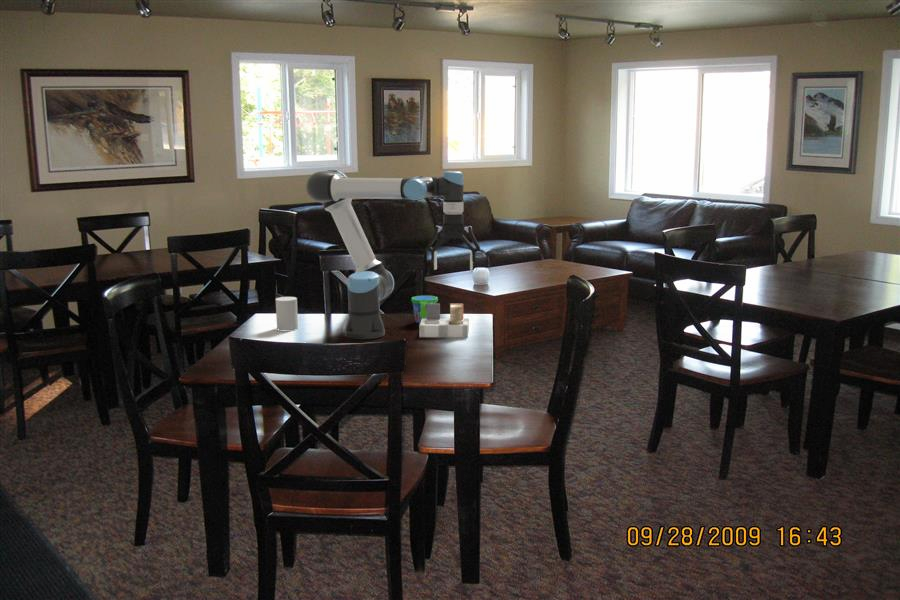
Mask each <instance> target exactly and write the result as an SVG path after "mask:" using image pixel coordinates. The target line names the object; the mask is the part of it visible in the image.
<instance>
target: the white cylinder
mask: <svg viewBox="0 0 900 600" xmlns="http://www.w3.org/2000/svg"><path fill="white" fill-rule="evenodd" d="M275 312H276V316H275V317H276V330H277V329H279V330H293V331H296V330H295V329H297V330H298V329H299V320H298V297H296V296H280V297H276V298H275ZM279 330H278V331H279Z"/></svg>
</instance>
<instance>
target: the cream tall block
mask: <svg viewBox="0 0 900 600" xmlns="http://www.w3.org/2000/svg"><path fill="white" fill-rule="evenodd" d="M450 312H451V324H453V325H461V305H451V306H450V305H449V313H450Z"/></svg>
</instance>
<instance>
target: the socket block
mask: <svg viewBox="0 0 900 600" xmlns="http://www.w3.org/2000/svg"><path fill="white" fill-rule="evenodd" d="M451 305H461V325H453V324H451V312H450V311H449V318H441V304H440V303H437V304H427V318H422V320H421V322H420V323H419V326H418V327H419V328H418V330H419V333H418V335H419V338H469V337H468V336H469V331H470V330H469V327H470V324H469V321H470V320H469V318H464V303H449V307H450V306H451Z"/></svg>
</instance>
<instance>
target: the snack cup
mask: <svg viewBox="0 0 900 600" xmlns="http://www.w3.org/2000/svg"><path fill="white" fill-rule="evenodd" d="M438 301H439V299H438V296H436V295H435V296H434V295H416V296H412V297H411V303H412V308H413V314H414V319H415V320H414V321H415V323H417V324H420V322H421V320H422V318H427V304H438Z"/></svg>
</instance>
